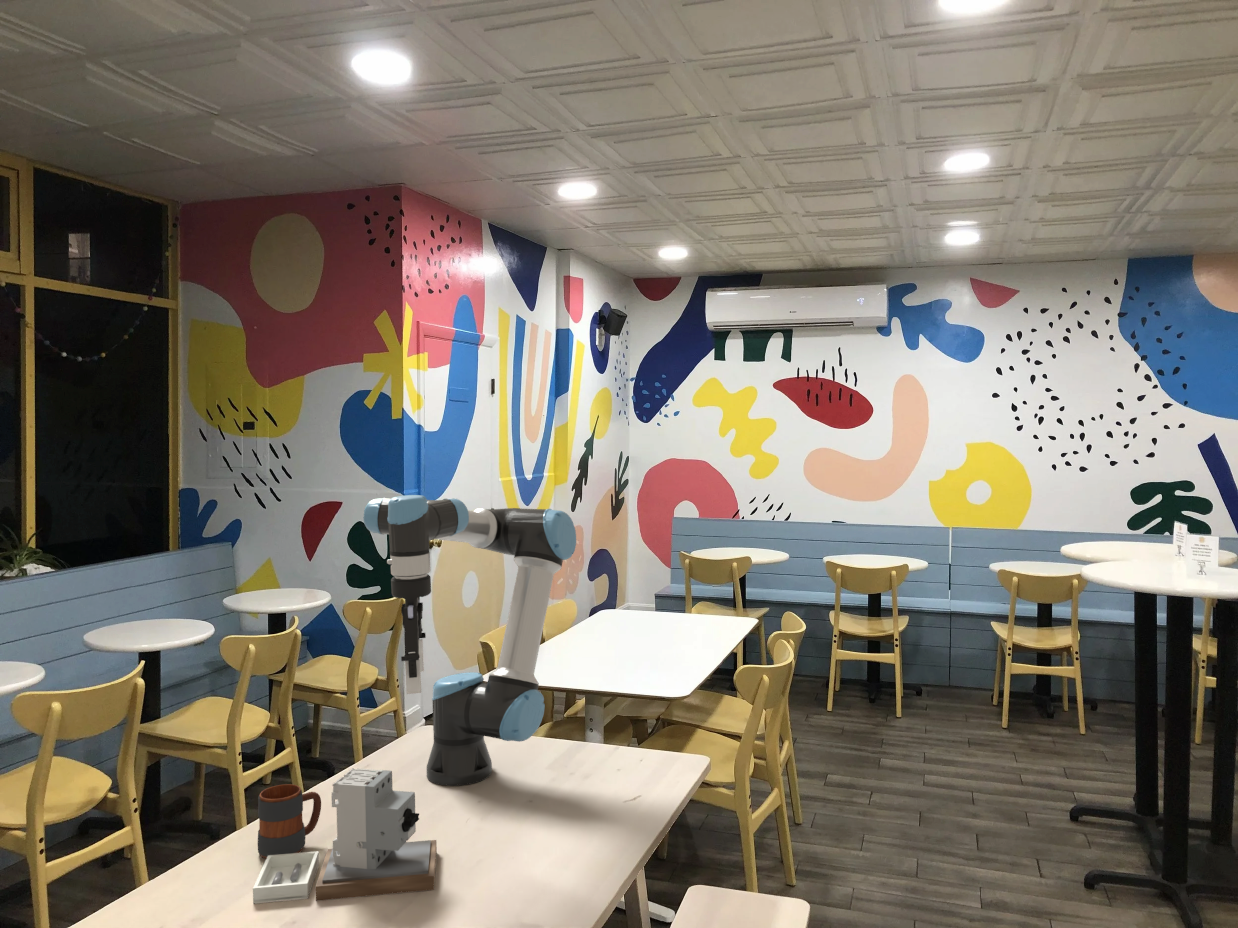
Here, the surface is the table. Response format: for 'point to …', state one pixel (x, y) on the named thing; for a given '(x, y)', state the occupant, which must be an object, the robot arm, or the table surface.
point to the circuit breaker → (370, 818)
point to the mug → (284, 819)
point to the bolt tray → (286, 877)
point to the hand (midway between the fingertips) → (415, 681)
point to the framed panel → (381, 874)
